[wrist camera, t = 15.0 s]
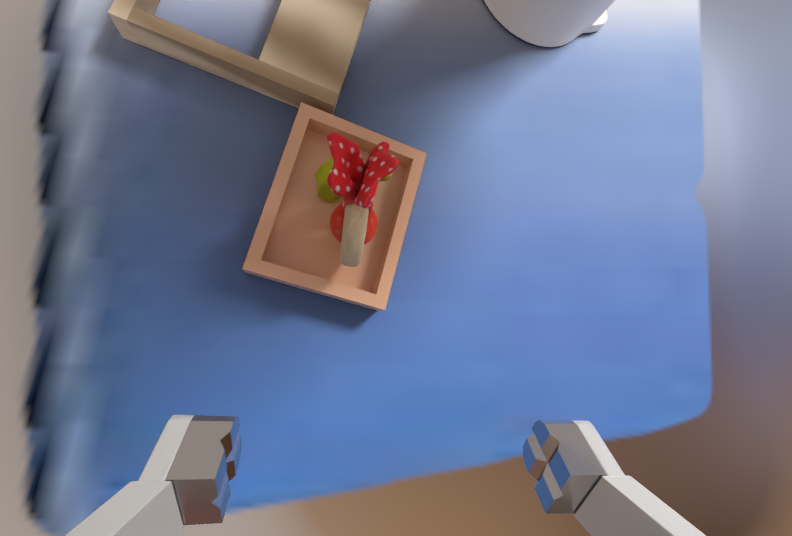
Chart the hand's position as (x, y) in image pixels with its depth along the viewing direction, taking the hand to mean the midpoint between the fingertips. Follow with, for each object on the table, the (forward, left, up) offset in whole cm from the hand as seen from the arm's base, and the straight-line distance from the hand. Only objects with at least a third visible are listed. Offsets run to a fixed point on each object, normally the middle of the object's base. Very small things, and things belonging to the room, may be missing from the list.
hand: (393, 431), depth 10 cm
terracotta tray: (-12, -2, -21) cm, 24 cm away
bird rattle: (-12, -1, -20) cm, 23 cm away
